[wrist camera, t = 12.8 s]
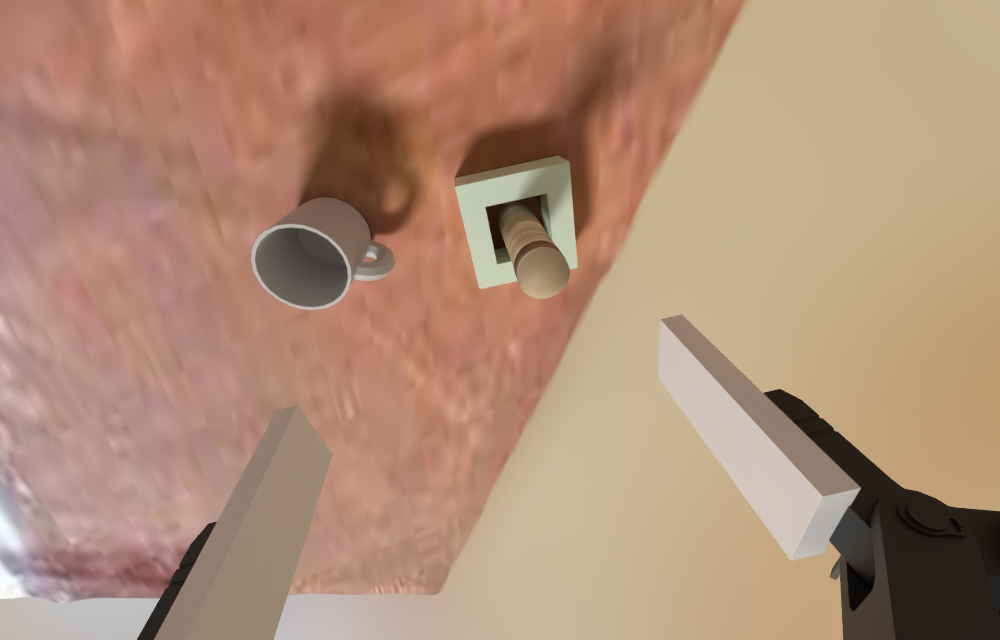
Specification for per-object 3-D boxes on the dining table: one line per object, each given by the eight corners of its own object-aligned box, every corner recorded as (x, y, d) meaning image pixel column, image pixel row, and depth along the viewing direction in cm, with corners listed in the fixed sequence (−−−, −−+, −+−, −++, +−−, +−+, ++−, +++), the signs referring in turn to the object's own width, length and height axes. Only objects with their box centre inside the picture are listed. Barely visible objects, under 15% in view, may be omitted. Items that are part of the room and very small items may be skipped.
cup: (294, 186, 34) (248, 213, 26) (405, 213, 36) (392, 244, 28) (294, 259, 37) (253, 300, 29) (395, 278, 39) (382, 322, 32)
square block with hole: (454, 177, 35) (454, 186, 31) (557, 155, 35) (569, 161, 31) (477, 272, 40) (479, 289, 37) (566, 253, 40) (577, 267, 37)
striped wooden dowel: (493, 204, 36) (513, 257, 24) (530, 196, 36) (568, 244, 24) (500, 239, 38) (522, 304, 26) (535, 231, 38) (572, 293, 26)
